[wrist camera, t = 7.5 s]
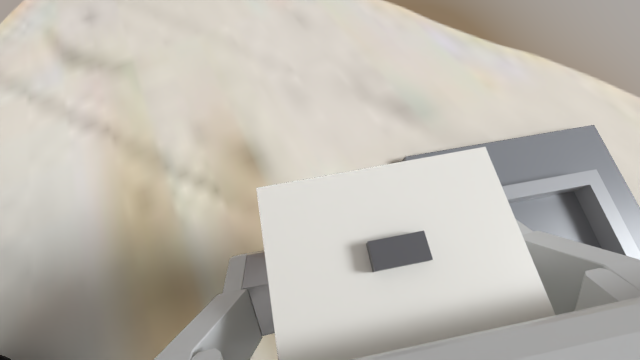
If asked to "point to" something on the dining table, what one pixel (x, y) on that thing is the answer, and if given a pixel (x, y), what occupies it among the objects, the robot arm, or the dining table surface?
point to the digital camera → (4, 358)
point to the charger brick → (395, 258)
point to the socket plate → (566, 187)
